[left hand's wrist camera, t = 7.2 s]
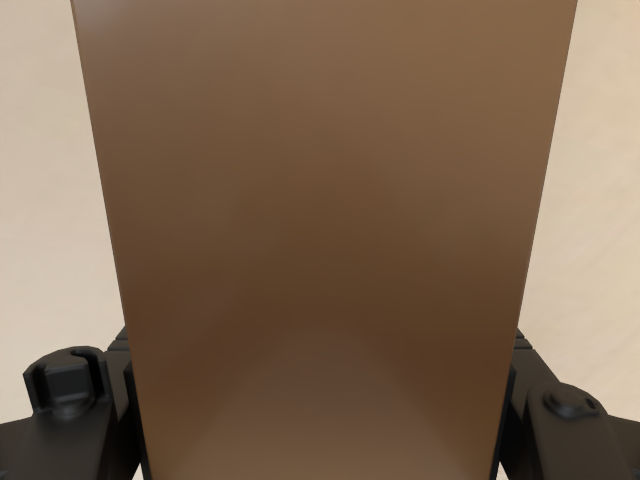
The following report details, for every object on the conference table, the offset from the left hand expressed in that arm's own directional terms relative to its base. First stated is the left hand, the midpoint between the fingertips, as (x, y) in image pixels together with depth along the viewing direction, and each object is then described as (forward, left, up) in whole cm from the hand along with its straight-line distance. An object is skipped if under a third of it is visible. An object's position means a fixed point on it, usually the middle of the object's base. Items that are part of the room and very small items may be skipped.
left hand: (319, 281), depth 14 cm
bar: (+10, +30, -1) cm, 32 cm away
